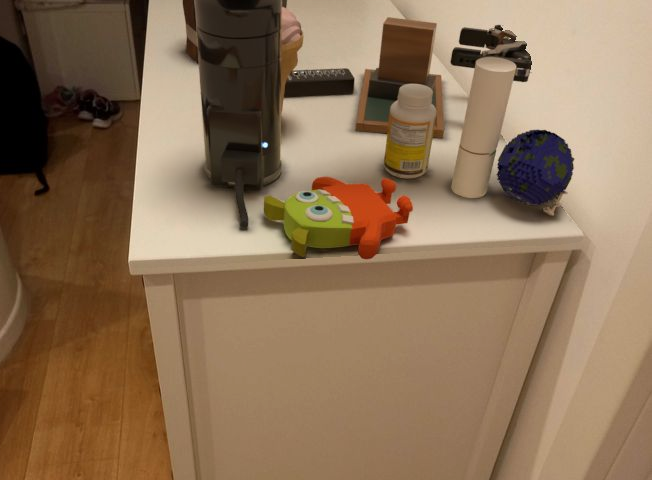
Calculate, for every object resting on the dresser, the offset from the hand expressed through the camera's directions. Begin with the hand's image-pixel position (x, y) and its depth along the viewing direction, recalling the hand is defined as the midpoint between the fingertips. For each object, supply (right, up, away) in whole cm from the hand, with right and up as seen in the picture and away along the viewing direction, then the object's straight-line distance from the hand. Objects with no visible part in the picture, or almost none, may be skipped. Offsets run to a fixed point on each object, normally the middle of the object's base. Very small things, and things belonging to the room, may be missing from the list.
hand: (455, 45), depth 95 cm
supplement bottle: (-8, -20, -8) cm, 23 cm away
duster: (-7, -4, +6) cm, 10 cm away
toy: (-10, -26, -18) cm, 33 cm away
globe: (+4, -25, -16) cm, 30 cm away
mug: (-32, +6, +19) cm, 37 cm away
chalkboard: (-7, -6, +7) cm, 11 cm away
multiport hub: (-19, -3, +10) cm, 22 cm away
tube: (-1, -23, -11) cm, 25 cm away
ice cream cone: (-27, -11, 0) cm, 29 cm away
